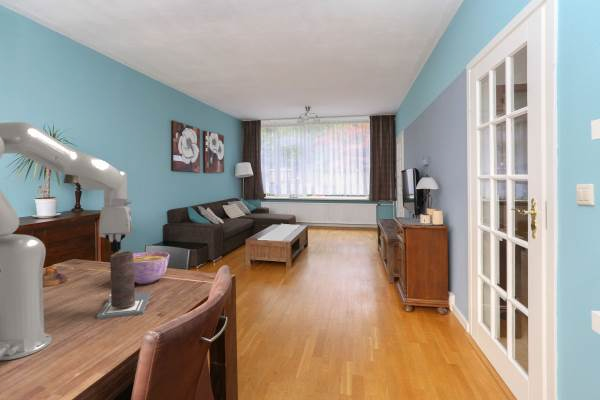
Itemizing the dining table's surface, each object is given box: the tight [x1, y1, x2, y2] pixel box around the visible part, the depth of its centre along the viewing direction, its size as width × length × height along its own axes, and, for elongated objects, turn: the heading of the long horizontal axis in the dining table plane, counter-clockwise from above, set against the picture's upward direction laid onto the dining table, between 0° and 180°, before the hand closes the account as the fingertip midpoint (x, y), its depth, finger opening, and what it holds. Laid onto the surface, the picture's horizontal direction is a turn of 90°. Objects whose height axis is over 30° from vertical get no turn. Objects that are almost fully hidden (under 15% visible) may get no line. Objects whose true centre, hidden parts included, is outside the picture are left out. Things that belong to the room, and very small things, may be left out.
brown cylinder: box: [109, 250, 136, 308], centre depth 109 cm, size 8×7×20 cm
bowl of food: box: [133, 251, 170, 285], centre depth 141 cm, size 20×20×12 cm
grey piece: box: [96, 290, 152, 320], centre depth 114 cm, size 20×14×4 cm
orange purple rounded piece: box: [42, 266, 68, 288], centre depth 137 cm, size 12×12×7 cm
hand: (115, 251), depth 115 cm, fingers closed
